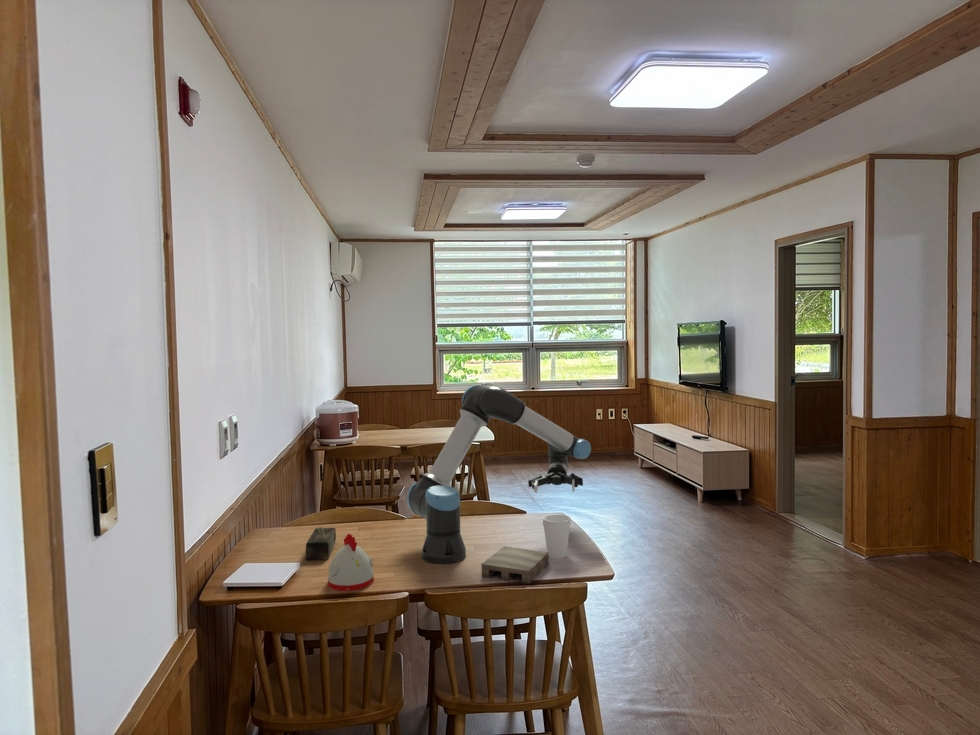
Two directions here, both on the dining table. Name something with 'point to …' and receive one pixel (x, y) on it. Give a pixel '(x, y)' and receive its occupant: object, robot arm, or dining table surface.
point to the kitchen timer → (350, 567)
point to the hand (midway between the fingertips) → (554, 488)
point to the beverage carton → (320, 544)
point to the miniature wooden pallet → (516, 563)
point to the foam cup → (556, 534)
